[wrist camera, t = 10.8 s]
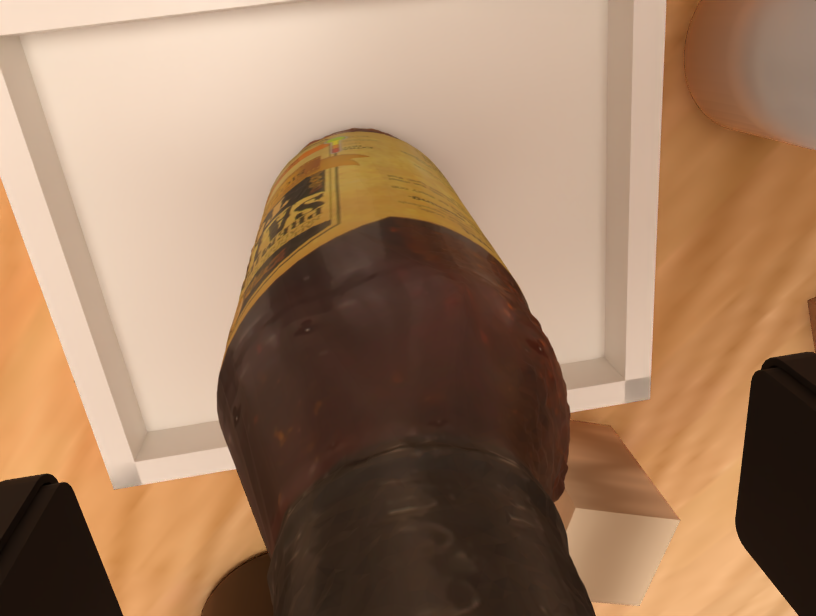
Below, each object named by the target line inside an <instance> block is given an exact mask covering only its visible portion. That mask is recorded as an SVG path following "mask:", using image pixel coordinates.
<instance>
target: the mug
mask: <svg viewBox="0 0 816 616" xmlns="http://www.w3.org/2000/svg"><path fill="white" fill-rule="evenodd" d="M270 562H271V558H270V556H269V553H267V554H264V555H262V556H259V557H256V558H254V559H252V560H251V561H249V562H247V563H245V564H243V565H242V566H240V567H238V568H237V569H236V570H234V571H233V572H232V573H230V574H229V575H228V576H227V577H226V578H225V579H224V580H223V581H222V582H221V583H220V584H219V585H218V586H217V588H216V589H215V590H214V591H213V593H212V594H211V596H210V597H209V598H208V600H207V602H206V604H205V606H204V608H203V610H202V613H201V616H273V604H272V601H271V595H270V589H269V586H268V581H267V573H268V569H269V566H270Z"/></svg>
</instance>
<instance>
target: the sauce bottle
mask: <svg viewBox="0 0 816 616" xmlns="http://www.w3.org/2000/svg"><path fill="white" fill-rule="evenodd" d="M217 414H218V419H219V424H220V427H221V430H222V433H223V436H224V439H225V441H226V444H227V446H228V449H229V451H230V454H231V457H232V459H233V462H234V464H235V467H236V470H237V472H238V475H239V478H240V480H241V483H242V486H243V488H244V491H245V493H246V496H247V499H248V501H249V504H250V507H251V509H252V512H253V515H254V517H255V520H256V522H257V525H258V528H259V530H260V533H261V535H262V538H263V541H264V543H265V546H266V548H267V551H268V553H269V556H270V558H271V562H270V566H269V569H268V573H267V581H268V586H269V589H270V595H271V601H272V604H273V616H596V615H595V612H594V609H593V606H592V604H591V601H590V598H589V596H588V593H587V590H586V588H585V585H584V583H583V582H582V580H581V578H580V577H579V575H578V572H577V570H576V567H575V565H574V563H573V561H572V559H571V557H570V555H569V547H568V538H567V533H566V530H565V527H564V524H563V522H562V519H561V517H560V514H559V512H558V510H557V508H556V506H555V504H554V502H555V501H557V500H559V498H560V497H561V495H562V494H563V492H564V490H565V484H564V480H565V476H566V473H567V471H568V465H567V462H568V455H569V443H570V406H569V404H568V402H567V387H566V383H565V381H564V379H563V375H562V370H561V367H560V364H559V362H558V361H557V358H556V355H555V352H554V350H553V348H552V346H551V344H550V341H549V339H548V337H547V336H546V335H545V334H544V332H543V331H542V328H541V324H540V323H539V321H538V320H537V319H536V318H535V317H534V316H533V315H532V314H531V312H530V309H529V306H528V303H527V301H526V299H525V297H524V295H523V293H522V291H521V289H520V287H519V285H518V284H517V282H516V281H515V279H514V278H513V276H512V275H511V273H510V272H509V270H508V269H507V267H506V266H505V264H504V263H503V261H502V260H501V258H500V257H499V255H498V254H497V252H496V251H495V249H494V248H493V247H492V245H491V244H490V242H489V241H488V240H487V238H486V237H485V236H484V234H483V233H482V231H481V230H480V228H479V226H478V225H477V223H476V222H475V220H474V219H473V218H472V216H471V215H470V213H469V212H468V210H467V209H466V207H465V206H464V205H463V203H462V202H461V200H460V198H459V197H458V195H457V194H456V192H455V191H454V189H453V188H452V186H451V185H450V184H449V182H448V180H447V179H446V178H445V176H444V175H443V174H442V173H441V171H440V170H439V169H438V168H437V167H436V165H435V164H434V163H433V162H432V161H431V160H430V159H429V158H428V157H427V156H425V155H424V154H423V153H422V152H421V151H419V150H418V149H416V148H415V147H413V146H411V145H410V144H408V143H407V142H404V141H402V140H400V139H398V138H397V137H394V136H392V135H390V134H388V133H385V132H382V131H379V130H376V129H372V128H370V129H364V128H363V129H362V128H351V129H348V130H344V131H340V132H336V133H333V134H331V135H328V136H325V137H324V138H322V139H319V140H314V141H312V142H310V143H309V144H308V145H307V146H305V147H304V148H303V149H302V150H301V151H300V152H299V153H298V154H297V155H296V156H295V157H294V158H293V159H292V160H290V161H289V162H288V163H287V165H286V166H285V167H284V168H283V170H282V171H281V172H280V174H279V175H278V177H277V178H276V180H275V182H274V184H273V186H272V188H271V190H270V193H269V196H268V198H267V202H266V205H265V208H264V212H263V216H262V219H261V223H260V226H259V230H258V233H257V236H256V240H255V244H254V246H253V248H252V250H251V256H250V260H249V264H248V266H247V272H246V276H245V279H244V282H243V284H242V288H241V293H240V296H239V302H238V306H237V309H236V313H235V316H234V319H233V322H232V326H231V328H230V331H229V335H228V340H227V344H226V349H225V353H224V357H223V361H222V364H221V368H220V372H219V377H218V386H217Z"/></svg>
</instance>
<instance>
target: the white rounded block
mask: <svg viewBox="0 0 816 616" xmlns="http://www.w3.org/2000/svg"><path fill="white" fill-rule="evenodd" d="M684 68H685V76H686V80H687V84H688V88H689V90H690V93H691V95H692V97H693V99H694V101H695V102H696V104H697V106H698V107H699V108H700V109H701V111H702V112H703V113H704V114H705V115H706V116H707V117H708V118H710V119H711V120H712V121H714V122H715V123H717V124H719V125H720V126H723V127H725V128H728V129H731V130H735V131H740V132H744V133H748V134H752V135H756V136H760V137H764V138H768V139H772V140H776V141H780V142H784V143H788V144H792V145H796V146H800V147H804V148H808V149H812V150H816V0H701V1H700V3H699V4H698V6H697V8H696V10H695V13H694V15H693V17H692V20H691V23H690V26H689V29H688V33H687V37H686V41H685V50H684Z"/></svg>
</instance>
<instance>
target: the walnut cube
mask: <svg viewBox="0 0 816 616" xmlns="http://www.w3.org/2000/svg"><path fill="white" fill-rule="evenodd" d="M808 307H809V314H810V320H811V327H812V334H813V340H814V347H815V353H816V297H814V298H812V299H810V300H808Z"/></svg>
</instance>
